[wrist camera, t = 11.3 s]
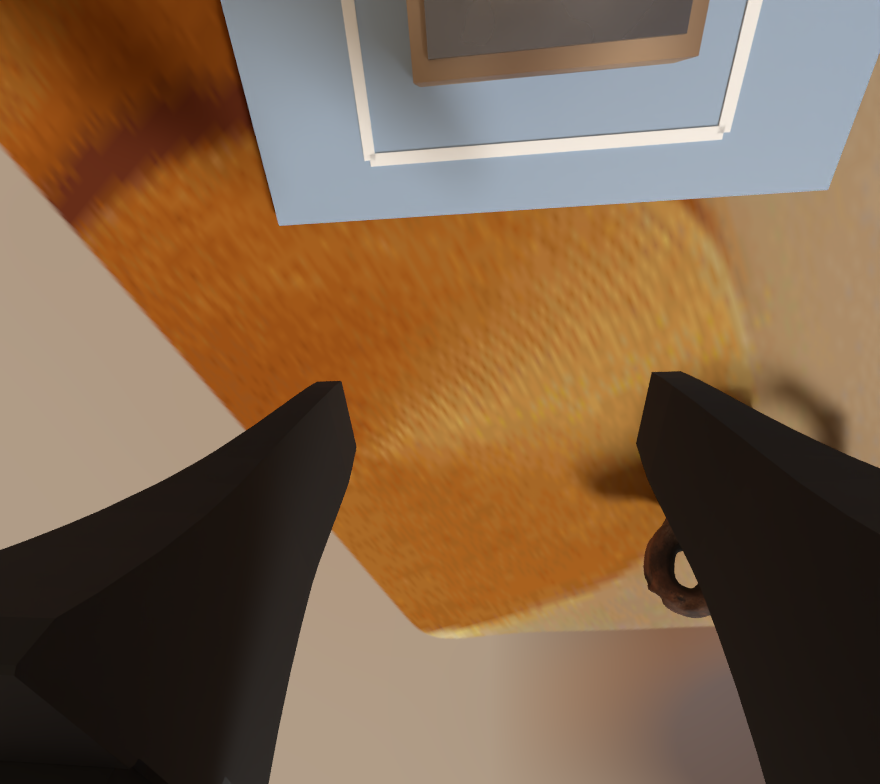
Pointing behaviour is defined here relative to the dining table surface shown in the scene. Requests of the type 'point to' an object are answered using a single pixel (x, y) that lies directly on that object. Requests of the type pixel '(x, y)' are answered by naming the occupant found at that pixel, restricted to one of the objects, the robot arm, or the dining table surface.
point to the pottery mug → (671, 575)
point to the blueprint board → (545, 100)
